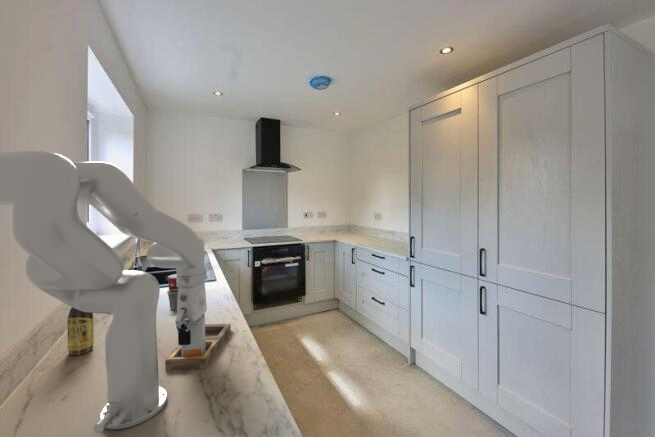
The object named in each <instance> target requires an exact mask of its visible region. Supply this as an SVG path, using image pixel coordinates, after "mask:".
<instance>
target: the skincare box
mask: <svg viewBox="0 0 655 437" xmlns="http://www.w3.org/2000/svg"><path fill="white" fill-rule="evenodd" d="M187 319H188V318H187ZM183 324H185V326H186V325H187V323H183ZM205 324H206V316H205V315H204V316H201V317H200V318H199V319H198V320H196V321H195V322H192V321H191V324H190V328H189V330H191V344H190V345H181V356H182V357H198V356H203V355H204V354H205V352H206V342H205V337H206V334H205Z"/></svg>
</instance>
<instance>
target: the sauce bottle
mask: <svg viewBox="0 0 655 437" xmlns="http://www.w3.org/2000/svg"><path fill="white" fill-rule="evenodd" d="M66 319H67V322H66V323H67V349H68V350H67V351H68V355H71V356H78V355H79V356H80V355H84V354H86V353H88V352H90V351H92V350H93V348H94V344H95V339H94V338H95V334H94V332H95V330H94V327H95V326H94V313H89V312H83V311H80V310H77V309H75V308H73V307H71V308H70V310H69V312H68V316H67V318H66Z"/></svg>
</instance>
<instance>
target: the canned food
mask: <svg viewBox="0 0 655 437" xmlns="http://www.w3.org/2000/svg"><path fill="white" fill-rule="evenodd" d="M167 279H168V291H169V290H176V289H178V288H179V287H177V273H173V274H171V275H168V277H167Z"/></svg>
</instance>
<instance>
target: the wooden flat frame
mask: <svg viewBox="0 0 655 437" xmlns="http://www.w3.org/2000/svg"><path fill="white" fill-rule="evenodd" d="M231 325H232V324H231V323H212V324H211V323H209V324H206V323H205V335H206V334H218V335H216V336H205V342H206V352H205V354H204V355H203V356H198V357H182V356H181V345H179V346H178V347H177V348H176V349H175V350H174V351H173V352H172V353H171V354H170V355H169V356H168V357H167V358H166V359H165V361H164V365H165V366H164V367H165V368H164V369H165V371H173V370H174V371H175V370H177V371H179V370H205V369H206V368H207V367H208V366H209V364H210V362H211V361H212V359H213V358H214V356H215V355H216V353H217V352H218V351H219V349H220V348H221V346H222V345H223V343H224V341H225V340H226V338H227V336H228V335H229V334H230V332H231V331H232V330H231V328H232V326H231Z"/></svg>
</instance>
